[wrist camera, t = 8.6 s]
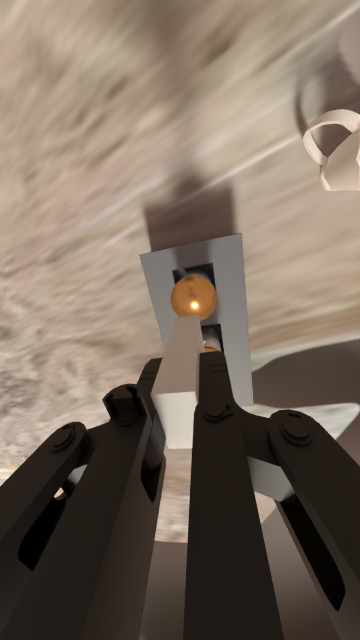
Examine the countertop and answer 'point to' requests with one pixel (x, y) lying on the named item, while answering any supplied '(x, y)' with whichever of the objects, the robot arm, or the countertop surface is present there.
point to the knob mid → (210, 339)
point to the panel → (231, 310)
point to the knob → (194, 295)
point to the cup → (338, 152)
